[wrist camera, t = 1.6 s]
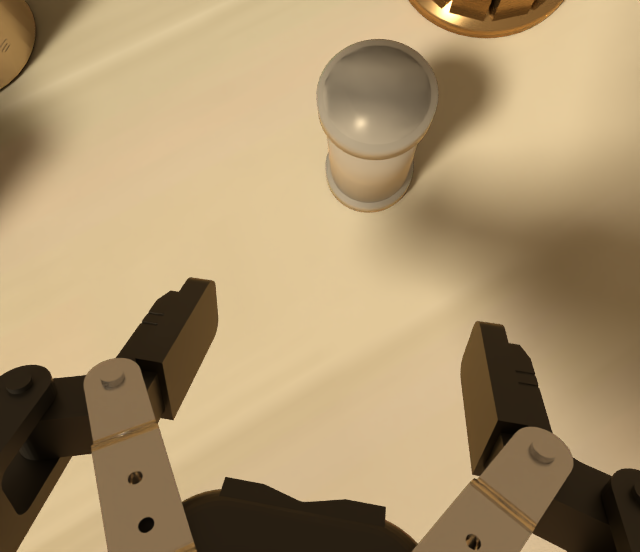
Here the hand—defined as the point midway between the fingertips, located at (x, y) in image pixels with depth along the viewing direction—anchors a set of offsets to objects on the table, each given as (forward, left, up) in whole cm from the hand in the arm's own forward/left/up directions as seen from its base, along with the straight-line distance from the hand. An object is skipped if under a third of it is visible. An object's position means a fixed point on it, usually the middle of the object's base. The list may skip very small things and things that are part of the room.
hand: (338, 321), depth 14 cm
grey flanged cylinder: (-7, +8, -14) cm, 17 cm away
